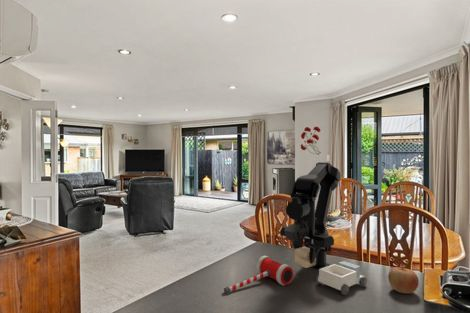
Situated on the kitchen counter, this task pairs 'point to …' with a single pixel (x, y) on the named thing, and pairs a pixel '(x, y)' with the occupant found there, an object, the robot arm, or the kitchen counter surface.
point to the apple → (403, 280)
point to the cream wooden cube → (303, 257)
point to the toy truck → (341, 276)
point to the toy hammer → (267, 273)
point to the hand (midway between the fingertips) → (305, 261)
